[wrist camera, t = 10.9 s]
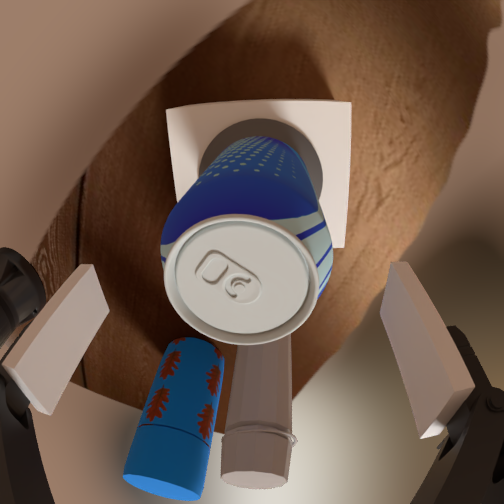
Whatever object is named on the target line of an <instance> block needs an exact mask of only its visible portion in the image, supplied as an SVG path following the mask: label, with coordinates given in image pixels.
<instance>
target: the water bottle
mask: <svg viewBox="0 0 504 504" xmlns="http://www.w3.org/2000/svg"><path fill="white" fill-rule="evenodd" d="M290 437H292V438H293V439H294V442H292V440H291V438H290ZM296 443H297V439H296V437H295V436H294V435H293V434H292V375H291V333H290V334H288V335H286V336H285V337H282V338H280V339H278V340H275V341H272V342H268V343H263V344H256V345H238V348H237V355H236V361H235V368H234V374H233V381H232V388H231V394H230V401H229V407H228V414H227V420H226V427H225V435H224V436H223V437H222V454H221V479H222V480H223V481H224V482H226V483H227V484H231V485H234V486H237V487H242V488H249V489H271V488H275V487H280V486H283V485H284V484H285V483H287V480H288V473H289V466H290V458H291V451H292V447H294V446H295V444H296Z"/></svg>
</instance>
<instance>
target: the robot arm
mask: <svg viewBox="0 0 504 504" xmlns="http://www.w3.org/2000/svg"><path fill="white" fill-rule="evenodd" d="M45 302H46V296H45V291H44V287H43V285H42V282H41V280H40V278H39V276H38V275H37V273H36V271H35V270H34V268H33V267H32V266H31V264H30V263H29V262H28V261H27V260H26V259H25V258H24V257H23V256H22V255H21V254H19V253H18V252H16V251H15V250H13V249H10V248H6V247H3V248H0V349H1V347H2V346H3V344H4V343H5V342H6V340H7V339H8V338H9V336H10V335H11V334H12V332H13V331H14V330H15V329H16V328H17V327H18V326H20V325H22V324H24V323H26V322H27V321H29V320H31V319H33V318H35V317H36V316H37V317H36V318H35V319H34V320H33V321H32V322H30V323H29V324H28V325H27V326H25V327H24V329H23V330H22V331H21V333H20V334H19V337H17V338H16V339H15V341H14V343H12V345H11V346H10V348H9V349H8V350H7V352H6V353H5V355H4V356H3V357H2V359H1V360H0V504H55V502H54V499H53V496H52V494H51V491H50V488H49V484H48V481H47V478H46V474H45V471H44V467H43V464H42V460H41V456H40V452H39V448H38V443H37V439H36V435H35V429H34V424H33V419H32V413H31V411H30V409H29V408H28V405H29V404H30V402H31V403H32V405H33V406H34V407H35V408H36V409H37V410H38V411H39V412H42V413H45V414H47V415H50V416H51V415H52V413H53V411H54V409H55V407H56V405H57V403H58V401H59V399H60V397H61V395H62V393H63V391H64V389H65V387H66V385H67V384H68V382H69V380H70V378H71V376H72V374H73V373H74V371H75V369H76V367H77V365H78V364H79V362H80V360H81V358H82V356H83V355H84V353H85V351H86V349H87V348H88V346H89V344H90V342H91V341H92V339H93V337H94V336H95V334H96V332H97V331H98V329H99V327H100V326H101V324H102V322H103V321H104V319H105V317H106V316H107V314H108V313H109V308H108V305H107V303H106V300H105V297H104V295H103V292H102V289H101V286H100V283H99V281H98V278H97V275H96V272H95V269H94V266H93V264H80V265H79V267H78V268H77V269H76V270H75V271H74V272H73V273H72V274H71V276H70V277H69V278H68V279H67V280H66V281H65V283H64V284H63V285H62V286H61V287H60V288H59V290H58V291H57V292H56V293H55V294H54V296H53V297H52V298H51V299H50V300H49V302H48V303H47V304H46V305H45ZM380 316H381V318H382V321H383V323H384V326H385V329H386V332H387V334H388V337H389V340H390V343H391V346H392V348H393V351H394V354H395V357H396V360H397V363H398V366H399V369H400V372H401V376H402V379H403V382H404V385H405V388H406V391H407V395H408V398H409V401H410V405H411V408H412V412H413V415H414V419H415V423H416V426H417V430H418V434H419V438H420V439H422V438H426V437H430V436H435V435H439V434H440V433H441V431H442V430H443V429H444V428H445V426H447V429H448V433H449V434H448V435H447V436H446V438H445V439H444V440H443V441H442V442H441V443H440V444H439V445H438V447H437V449H440V448H441V449H440V451H439V453H438V455H437V457H436V459H435V461H434V463H433V465H432V467H431V468H430V470H429V472H428V474H427V476H426V478H425V480H424V481H423V483H422V485H421V486H420V488H419V490H418V491H417V493H416V495H415V496H414V498H413V500H412V501H411V503H410V504H504V391H502V390H501V389H499V388H495V387H492V386H491V384H490V382H489V380H488V378H487V376H486V374H485V372H484V370H483V368H482V366H481V364H480V362H479V360H478V358H477V356H476V355H475V352H474V351H473V349H472V347H470V343H469V341H468V340H467V338H466V336H465V335H464V333H463V332H461V331H460V330H459V329H458V328H457V327H456V326H448V327H446V326H445V324H444V323H443V321H442V319H441V317H440V315H439V314H438V312H437V310H436V308H435V307H434V305H433V303H432V301H431V300H430V298H429V296H428V295H427V293H426V291H425V290H424V288H423V286H422V285H421V283H420V281H419V280H418V278H417V277H416V275H415V273H414V272H413V270H412V269H411V267H410V266H409V264H408V262H391V264H390V269H389V274H388V279H387V284H386V288H385V293H384V297H383V301H382V306H381V310H380Z"/></svg>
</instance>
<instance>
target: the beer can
mask: <svg viewBox="0 0 504 504" xmlns="http://www.w3.org/2000/svg"><path fill="white" fill-rule="evenodd" d="M161 260H162V265H163V269H164V284H165V289H166V292H167V296H168V298H169V300H170V302H171V304H172V306H173V307H174V309H175V310H176V312H177V313H178V314H179V315H180V317H181V318H182V319H183V320H184V321H185V322H186V323H188V324H189V325H190V326H191V327H193V328H194V329H195V330H197V331H199V332H200V333H202V334H204V335H206V336H208V337H210V338H213V339H216V340H218V341H222V342H226V343H231V344H238V345H256V344H263V343H268V342H272V341H275V340H278V339H280V338H282V337H285V336H286V335H288V334H290V333H292V332H293V331H295V330H296V329H297V328H298V327H300V326H301V325H302V324H303V323H304V322H305V321H306V319H307V318H308V317H309V315H310V314H311V312H312V310H313V308H314V307H315V304H316V301H317V299H318V298H319V296H320V295H321V293H322V292H323V290H324V288H325V286H326V284H327V282H328V279H329V277H330V274H331V270H332V264H333V246H332V240H331V235H330V232H329V229H328V226H327V223H326V220H325V217H324V215H323V212H322V209H321V206H320V203H319V200H318V197H317V195H316V192H315V189H314V186H313V184H312V181H311V178H310V176H309V173H308V170H307V168H306V165H305V163H304V161H303V160H302V158H301V157H300V156H299V154H298V153H297V152H296V151H295V150H294V149H293V148H291V147H290V146H289V145H287V144H286V143H284V142H282V141H279V140H277V139H274V138H270V137H263V136H254V137H248V138H244V139H241V140H238V141H236V142H234V143H232V144H231V145H229V146H228V147H227V148H226V149H224V150H223V151H222V152H221V154H220V155H219V156H218V157H217V158H216V159H215V160H214V161H213V162H212V163H211V165H210V166H209V167H208V168H207V169H206V170H205V171H204V172H203V174H202V175H201V176H200V177H199V178H198V179H197V180H196V182H195V183H194V184H193V185H192V186H191V187H190V189H189V190H188V191H187V192H186V193H185V194H184V196H183V197H182V198H181V199H180V200H179V202H178V203H177V204H176V205H175V207H174V208H173V210H172V211H171V213H170V215H169V216H168V218H167V221H166V223H165V226H164V229H163V232H162V238H161Z"/></svg>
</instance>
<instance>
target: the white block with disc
mask: <svg viewBox="0 0 504 504" xmlns="http://www.w3.org/2000/svg"><path fill="white" fill-rule="evenodd" d="M166 115H167V125H168V134H169V143H170V152H171V160H172V168H173V176H174V183H175V190H176V197H177V203H178V202H179V200H180V199H181V198H182V197H183V196H184V194H185V193H186V192H187V191H188V190H189V189H190V187H191V186H192V185H193V184H194V183H195V182H196V180H197V179H198V178H199V177H200V176H201V175H202V174H203V172H204V171H205V170H206V169H207V168H208V167H209V166H210V165H211V163H212V162H213V161H214V160H215V159H216V158H217V157H218V156H219V155H220V154H221V152H222V151H223V150H224V149H226V148H227V147H228V146H229V145H231V144H232V143H234V142H236V141H238V140H241V139H244V138H248V137H254V136H263V137H270V138H274V139H277V140H279V141H282V142H284V143H286V144H287V145H289V146H290V147H291V148H293V149H294V150H295V151H296V152H297V153H298V154H299V156H300V157H301V158H302V160H303V161H304V163H305V165H306V168H307V170H308V173H309V176H310V178H311V181H312V184H313V186H314V189H315V192H316V195H317V197H318V200H319V203H320V206H321V209H322V212H323V215H324V217H325V220H326V223H327V226H328V229H329V232H330V235H331V240H332V246H333V248H344V243H345V232H346V221H347V208H348V193H349V176H350V152H351V102H345V101H339V100H326V99H259V100H239V101H224V102H212V103H202V104H193V105H186V106H181V107H176V108H171V109H166Z"/></svg>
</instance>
